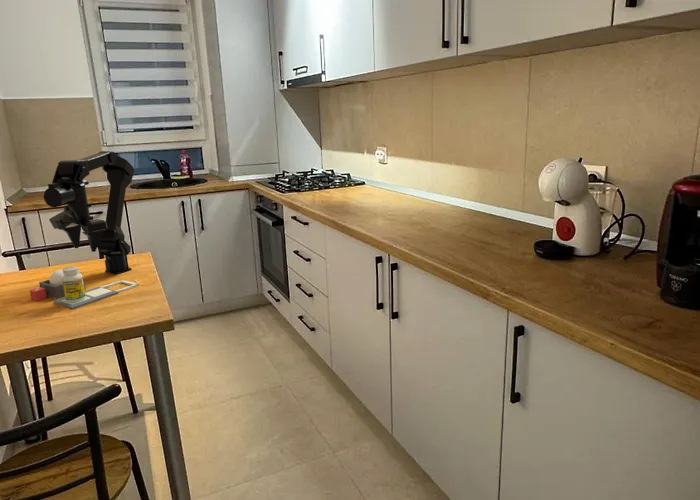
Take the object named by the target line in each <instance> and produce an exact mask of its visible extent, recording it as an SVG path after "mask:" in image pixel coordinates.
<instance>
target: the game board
mask: <svg viewBox="0 0 700 500" xmlns="http://www.w3.org/2000/svg"><path fill="white" fill-rule="evenodd" d="M119 284H125V285H128V286H125V287H122V288H119V289H117V290H114V289H109V288H110V287H113V286H116V285H119ZM139 286H140V284H139V283H136V282H133V281H129V280H124V279H121V280H117V281H114V282H112V283H111V282H110V283H109V284H106V285H105V284H104V285H102V286H97V287H94V288H91V289H87V290H85V293H86V298H85V299H83V300H81V301H77V302H68V301H66V298H65V297H62V298H59V299H56V300H53V304H55V305H58V306H61V307H65V308H69V309H71V310H75V309H78V308H80V307H84V306H87V305H89V304H92V303H95V302H98V301H101V300H103V299H107V298H110V297H113V296H116V295H118V294H119V293H121V292H125V291H127V290H130V289H134V288H136V287H139Z"/></svg>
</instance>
